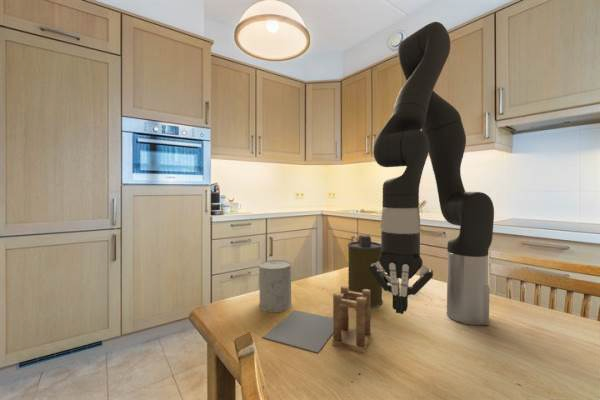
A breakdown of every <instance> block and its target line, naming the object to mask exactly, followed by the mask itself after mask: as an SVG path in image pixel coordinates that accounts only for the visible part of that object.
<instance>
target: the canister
mask: <svg viewBox="0 0 600 400" xmlns="http://www.w3.org/2000/svg"><path fill="white" fill-rule="evenodd" d="M347 247H348V271H347V273H348V274H347V275H348V285H347V287H348V291H353V292H359V293H362V290H363V289H368V290H370V308H375V307H379V306H380V305H382V304H383V302H384V301H383V297H382V295H383V288H382V287H381V285H380V284H379V282H378V281H377V280H376V278H375V277H374V275H373V274H372V273H371V271H370V270H369V267H370V266H371V264H373V263H376V262H377V261H379V257H380V255H381V244H380V243H377V242H376V241H372V238H371V236H370V235H369V234H359V235H358V240H357V241H352V242H348V243H347ZM381 267H382V265H381ZM348 300H353V301H356V299H354V298H348Z"/></svg>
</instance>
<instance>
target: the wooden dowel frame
mask: <svg viewBox="0 0 600 400" xmlns="http://www.w3.org/2000/svg"><path fill="white" fill-rule="evenodd" d="M332 298H333V300H332V301H333V302H332V306H333V309H332V310H333V311H332V315H333V317H332V318H333V334H332V335H333V338H332V341H331V342H332V344H331V345H332V346H337V347H341V348H344V349H349V350H352V351H356V352H360V353H365V351H366V349H367V347H368V345H369V342H370V340H371V338H372V332H371V307H370V290H368V289H363V290H362V293H359V292H353V291H348V285H347V286H346V285H342V286H340V292H339V293H338V292H337V293H333V294H332ZM348 298H354V299H356V301H353V300H348ZM349 308H350V309H351V308H352V309H355V310H356V311H355V313H356V316H355V317H356V318H355V319H356V320H355V321H356V322H355V324H356V325H355V327H356V328H353V327H349V323H350V321H349Z"/></svg>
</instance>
